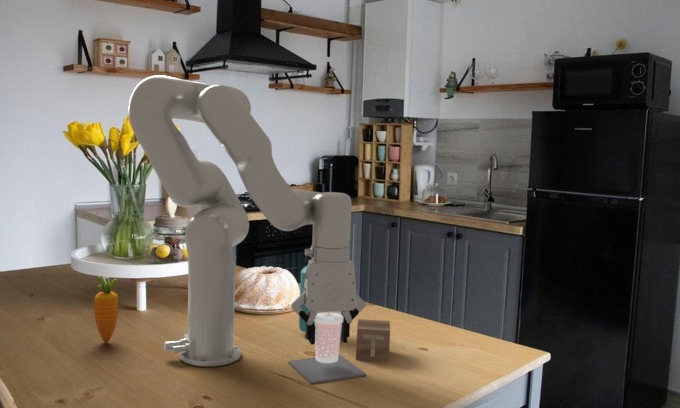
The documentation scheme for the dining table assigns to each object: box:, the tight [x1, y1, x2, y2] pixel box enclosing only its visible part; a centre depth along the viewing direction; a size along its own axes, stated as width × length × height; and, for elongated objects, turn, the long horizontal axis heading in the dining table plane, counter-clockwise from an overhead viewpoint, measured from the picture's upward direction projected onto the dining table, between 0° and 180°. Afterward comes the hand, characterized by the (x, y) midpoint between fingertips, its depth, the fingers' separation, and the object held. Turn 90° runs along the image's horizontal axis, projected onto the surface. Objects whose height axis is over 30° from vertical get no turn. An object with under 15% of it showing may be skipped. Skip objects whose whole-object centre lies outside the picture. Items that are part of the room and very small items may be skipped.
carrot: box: [93, 275, 119, 344], centre depth 140 cm, size 5×5×15 cm
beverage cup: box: [314, 312, 344, 363], centre depth 129 cm, size 6×6×14 cm
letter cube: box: [355, 318, 391, 363], centre depth 139 cm, size 7×7×7 cm
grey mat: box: [287, 353, 367, 385], centre depth 130 cm, size 12×12×1 cm
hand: (327, 340), depth 130 cm, fingers closed on beverage cup, 6 cm apart
